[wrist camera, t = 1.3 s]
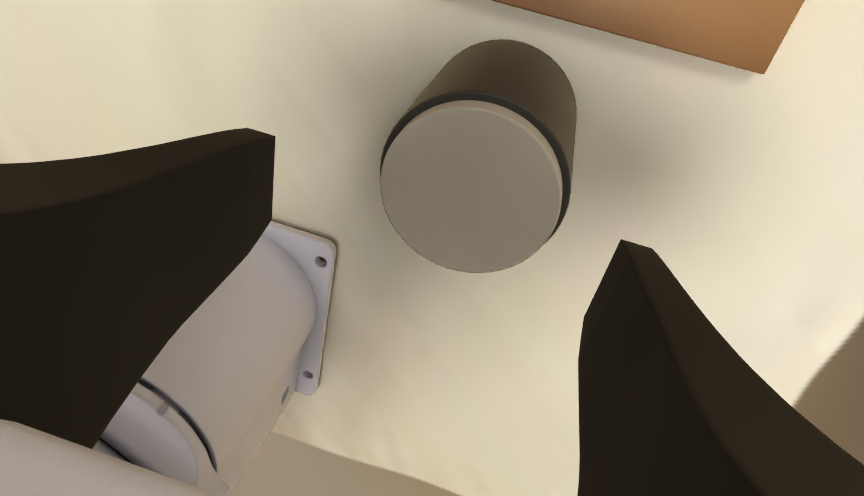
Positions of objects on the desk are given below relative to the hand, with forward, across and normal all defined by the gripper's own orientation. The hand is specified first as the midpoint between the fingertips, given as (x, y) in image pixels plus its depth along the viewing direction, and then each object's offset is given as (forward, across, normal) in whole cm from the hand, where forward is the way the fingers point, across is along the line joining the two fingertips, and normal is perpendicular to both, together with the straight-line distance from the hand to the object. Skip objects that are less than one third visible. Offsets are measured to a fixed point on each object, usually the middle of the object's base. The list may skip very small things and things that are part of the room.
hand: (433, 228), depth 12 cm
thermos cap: (+9, 0, +1) cm, 9 cm away
